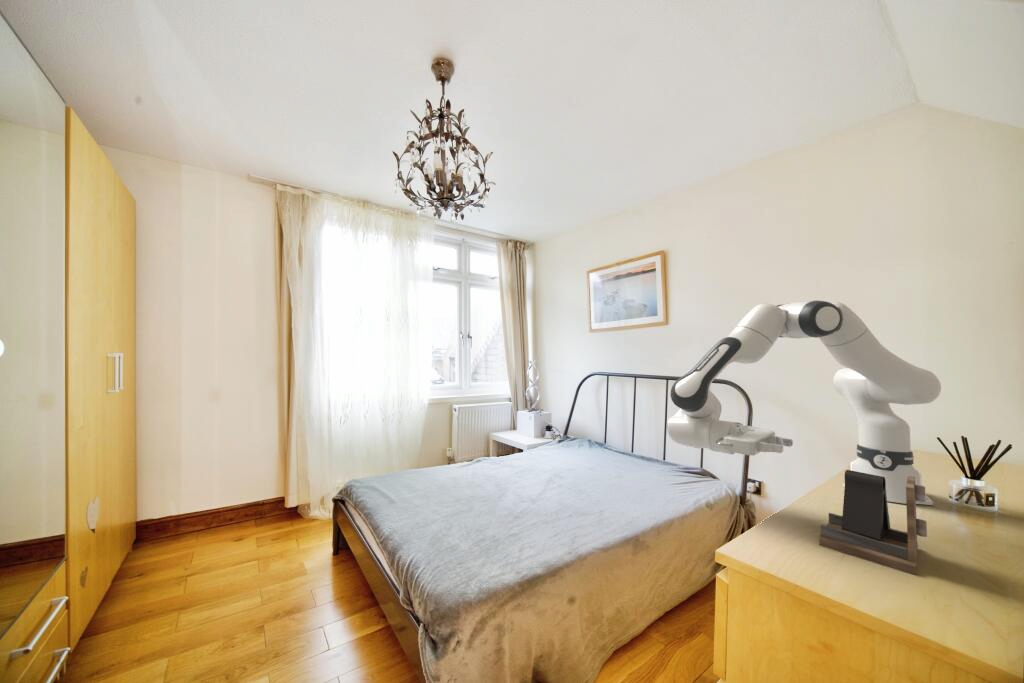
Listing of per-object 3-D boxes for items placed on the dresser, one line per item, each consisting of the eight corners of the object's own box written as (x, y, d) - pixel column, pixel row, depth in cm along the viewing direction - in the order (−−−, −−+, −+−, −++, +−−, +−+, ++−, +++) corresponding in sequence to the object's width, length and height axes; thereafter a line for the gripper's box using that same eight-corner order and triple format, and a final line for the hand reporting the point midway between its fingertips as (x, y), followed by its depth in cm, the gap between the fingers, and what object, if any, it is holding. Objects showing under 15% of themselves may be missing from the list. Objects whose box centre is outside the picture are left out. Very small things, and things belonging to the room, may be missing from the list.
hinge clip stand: (831, 525, 88) (829, 460, 89) (927, 551, 76) (924, 476, 77) (819, 545, 78) (817, 472, 79) (927, 578, 66) (924, 492, 67)
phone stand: (880, 541, 73) (878, 481, 73) (841, 529, 78) (839, 473, 78) (890, 530, 78) (889, 474, 79) (853, 520, 83) (852, 466, 83)
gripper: (712, 430, 94) (775, 439, 84) (738, 421, 108) (796, 428, 97) (712, 455, 94) (776, 467, 84) (739, 443, 108) (797, 451, 97)
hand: (787, 446), depth 91 cm, fingers open, 8 cm apart
